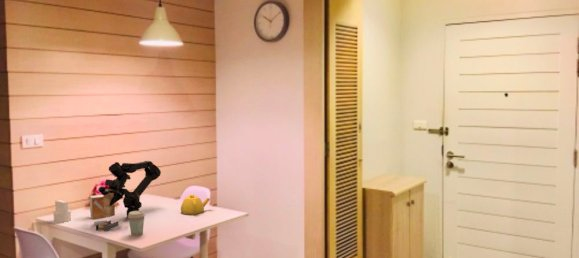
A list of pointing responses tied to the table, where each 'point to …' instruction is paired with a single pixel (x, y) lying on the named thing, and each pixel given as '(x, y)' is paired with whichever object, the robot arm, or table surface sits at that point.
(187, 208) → the teapot
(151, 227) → the table surface
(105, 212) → the tan flared column
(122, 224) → the table surface
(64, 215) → the cylinder with rectangular tab
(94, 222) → the slate mat
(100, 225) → the offcut stack
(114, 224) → the steel rack
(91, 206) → the small box
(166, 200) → the table surface
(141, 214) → the coffee cup
